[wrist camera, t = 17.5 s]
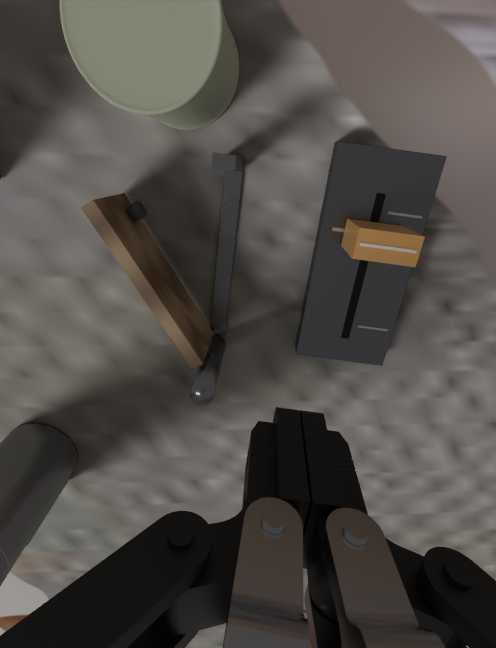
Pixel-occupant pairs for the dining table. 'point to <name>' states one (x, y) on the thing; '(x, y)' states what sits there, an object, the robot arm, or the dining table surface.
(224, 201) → the frame
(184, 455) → the dining table surface
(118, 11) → the can
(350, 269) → the console
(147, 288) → the door
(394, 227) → the fader
